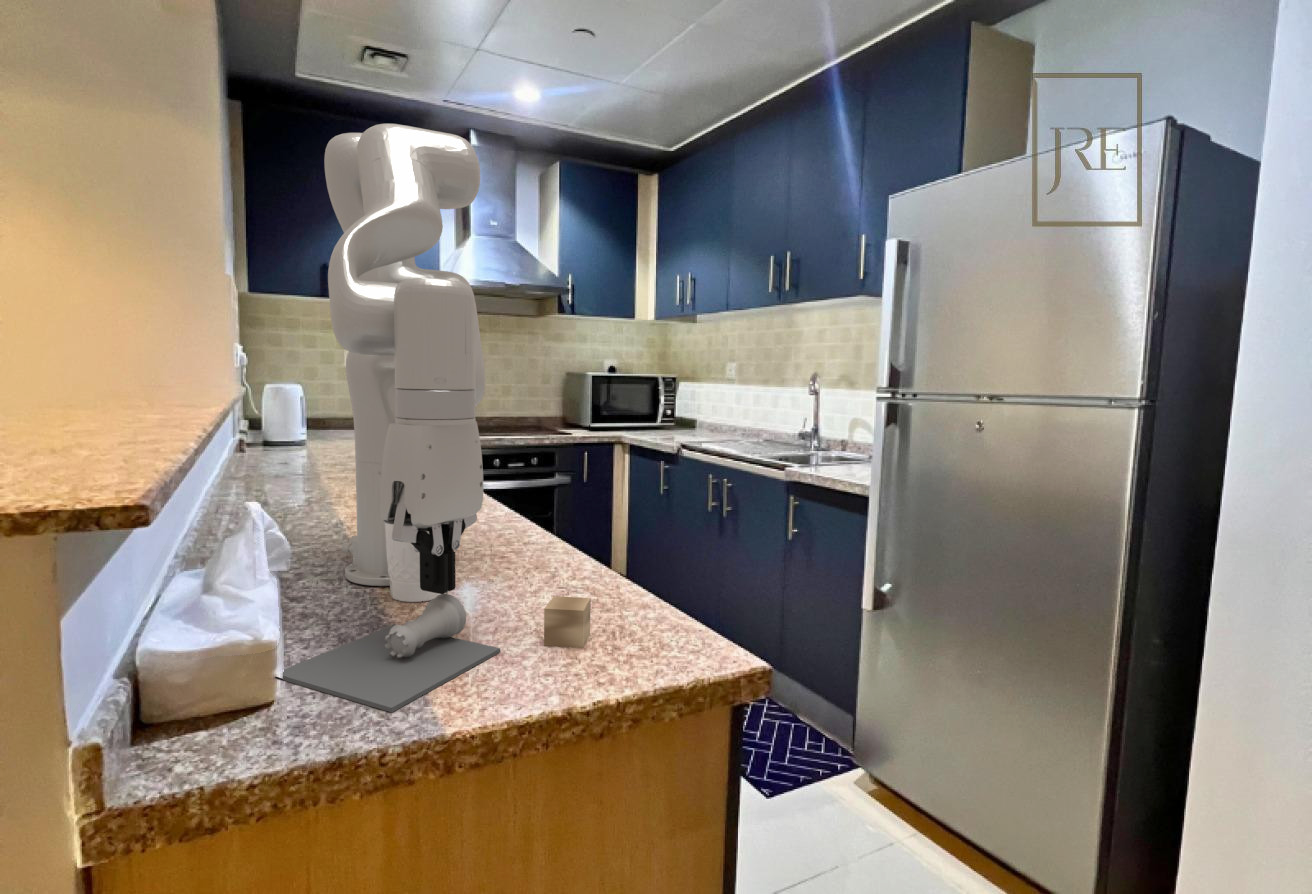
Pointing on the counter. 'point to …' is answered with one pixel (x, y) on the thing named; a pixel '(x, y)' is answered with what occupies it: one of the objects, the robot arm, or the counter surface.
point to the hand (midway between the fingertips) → (437, 589)
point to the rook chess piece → (427, 626)
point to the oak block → (567, 622)
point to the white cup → (404, 570)
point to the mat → (387, 669)
